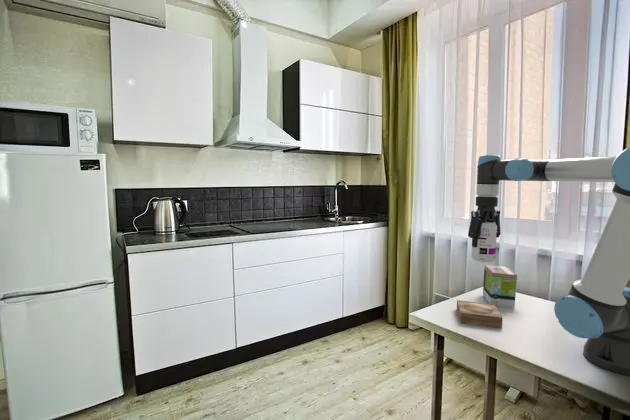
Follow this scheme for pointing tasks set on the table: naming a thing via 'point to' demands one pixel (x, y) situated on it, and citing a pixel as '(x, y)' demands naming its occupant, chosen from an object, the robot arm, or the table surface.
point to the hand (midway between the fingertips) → (483, 254)
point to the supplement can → (487, 242)
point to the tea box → (499, 286)
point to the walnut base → (479, 314)
